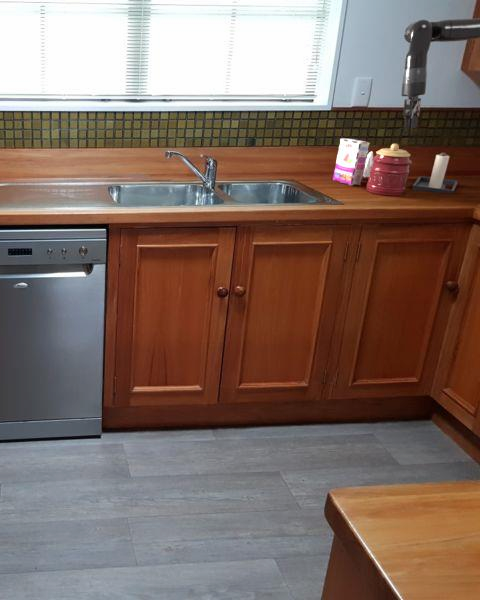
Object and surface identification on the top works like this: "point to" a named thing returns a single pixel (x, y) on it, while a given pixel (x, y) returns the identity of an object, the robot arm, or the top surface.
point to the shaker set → (368, 165)
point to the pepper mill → (439, 170)
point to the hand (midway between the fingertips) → (410, 128)
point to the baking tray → (423, 185)
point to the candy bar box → (351, 161)
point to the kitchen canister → (389, 171)
